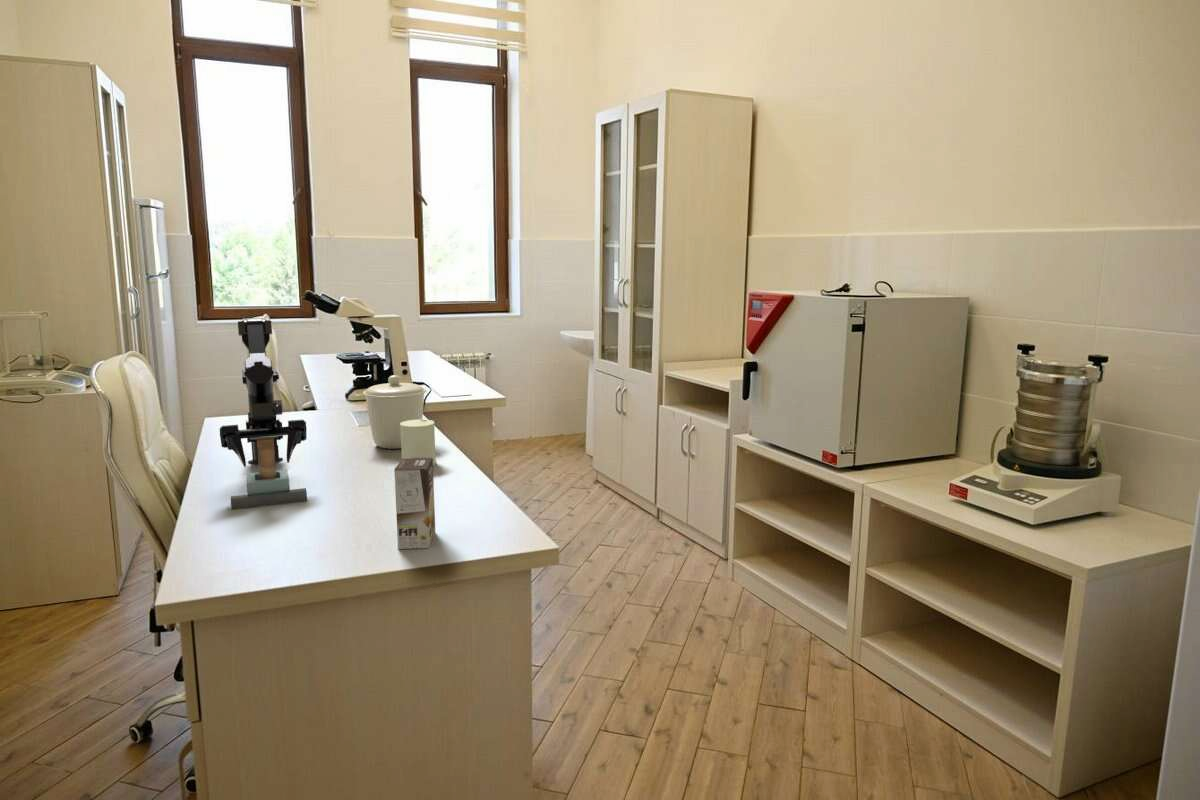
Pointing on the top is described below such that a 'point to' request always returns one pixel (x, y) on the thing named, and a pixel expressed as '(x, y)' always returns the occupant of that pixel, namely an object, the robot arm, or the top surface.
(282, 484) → the socket block
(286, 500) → the backstop bar
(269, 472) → the dowel
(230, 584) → the top surface
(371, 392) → the canister
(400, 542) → the coffee box
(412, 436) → the can
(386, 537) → the top surface
